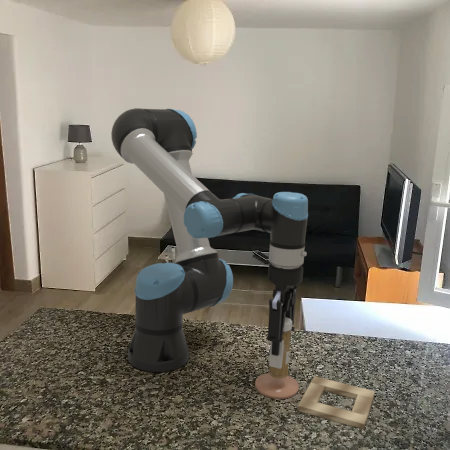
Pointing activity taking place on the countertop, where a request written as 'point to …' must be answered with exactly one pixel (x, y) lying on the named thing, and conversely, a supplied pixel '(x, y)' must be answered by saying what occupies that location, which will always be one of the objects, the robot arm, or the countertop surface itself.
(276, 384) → the coaster
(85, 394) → the countertop surface
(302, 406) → the collar board
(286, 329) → the sprinkles bottle
